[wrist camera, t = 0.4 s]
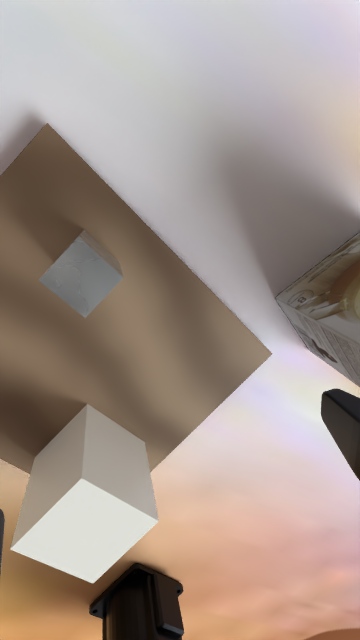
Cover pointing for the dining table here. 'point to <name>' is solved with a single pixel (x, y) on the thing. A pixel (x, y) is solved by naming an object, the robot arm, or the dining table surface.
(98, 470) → the white rectangular block
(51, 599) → the dining table surface
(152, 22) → the dining table surface
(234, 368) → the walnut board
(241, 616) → the dining table surface
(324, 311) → the coffee box
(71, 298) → the grey metal block
